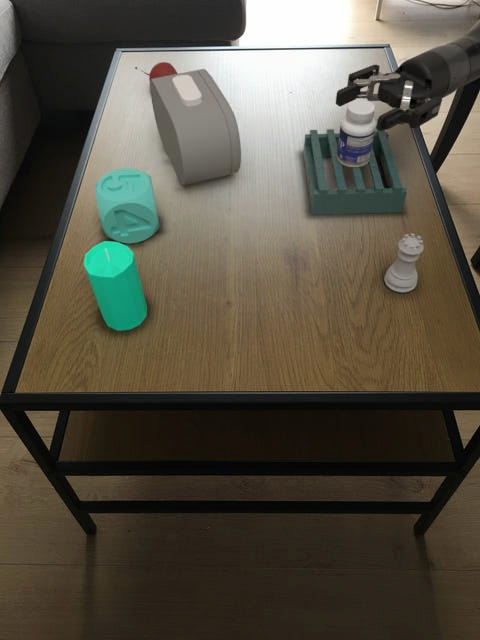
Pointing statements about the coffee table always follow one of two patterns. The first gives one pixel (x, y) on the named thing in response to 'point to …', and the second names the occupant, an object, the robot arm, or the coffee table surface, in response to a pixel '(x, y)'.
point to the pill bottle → (356, 134)
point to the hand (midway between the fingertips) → (357, 111)
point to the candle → (116, 285)
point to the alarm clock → (196, 126)
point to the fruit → (161, 70)
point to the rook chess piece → (405, 265)
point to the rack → (359, 197)
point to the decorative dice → (127, 205)
